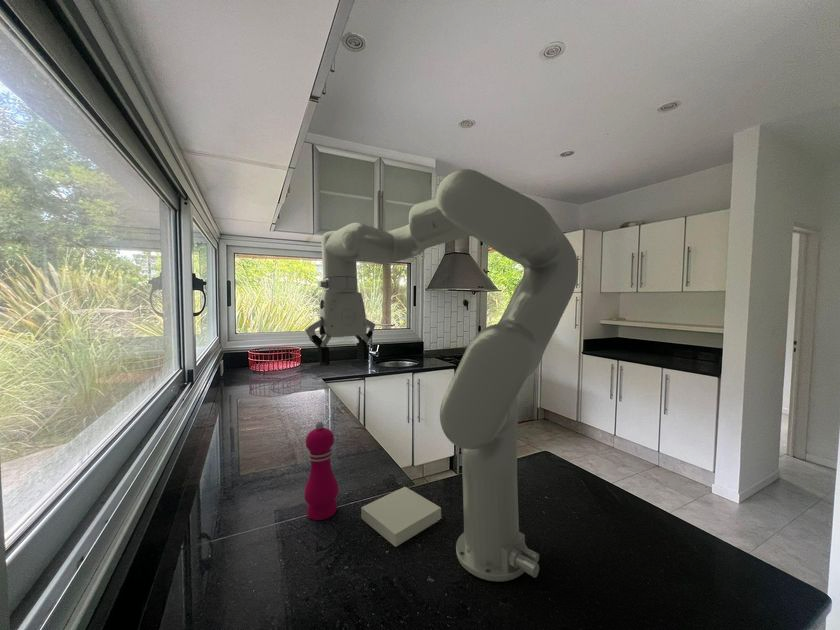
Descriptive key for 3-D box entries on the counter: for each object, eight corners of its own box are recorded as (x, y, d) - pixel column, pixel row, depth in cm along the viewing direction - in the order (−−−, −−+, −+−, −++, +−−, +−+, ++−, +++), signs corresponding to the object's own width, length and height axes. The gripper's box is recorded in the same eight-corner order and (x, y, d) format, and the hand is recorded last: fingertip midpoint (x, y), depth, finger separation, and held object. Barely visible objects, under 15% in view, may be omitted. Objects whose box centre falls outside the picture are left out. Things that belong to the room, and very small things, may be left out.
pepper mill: (297, 516, 72) (294, 424, 72) (321, 499, 78) (319, 415, 78) (322, 525, 68) (319, 429, 68) (345, 507, 75) (343, 418, 75)
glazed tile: (405, 498, 78) (441, 520, 69) (361, 520, 70) (395, 549, 61) (405, 486, 78) (440, 507, 69) (361, 507, 70) (395, 534, 61)
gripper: (312, 283, 67) (316, 368, 66) (381, 286, 79) (384, 358, 78) (296, 287, 72) (300, 366, 72) (363, 289, 84) (366, 357, 84)
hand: (344, 362), depth 75 cm, fingers open, 9 cm apart
